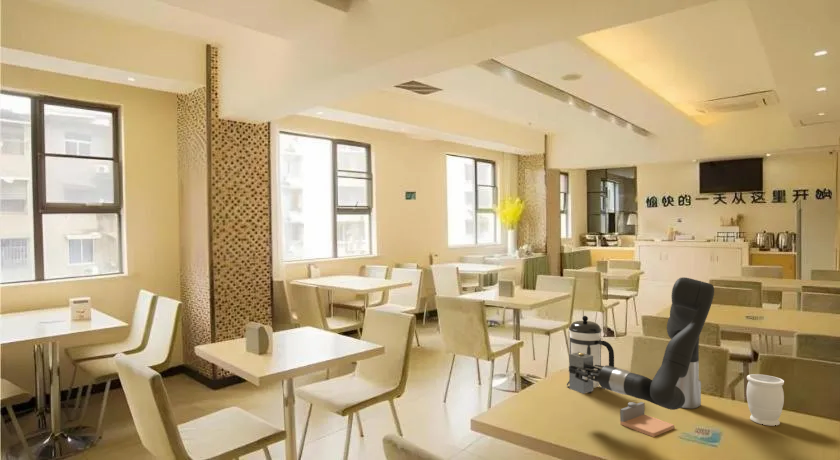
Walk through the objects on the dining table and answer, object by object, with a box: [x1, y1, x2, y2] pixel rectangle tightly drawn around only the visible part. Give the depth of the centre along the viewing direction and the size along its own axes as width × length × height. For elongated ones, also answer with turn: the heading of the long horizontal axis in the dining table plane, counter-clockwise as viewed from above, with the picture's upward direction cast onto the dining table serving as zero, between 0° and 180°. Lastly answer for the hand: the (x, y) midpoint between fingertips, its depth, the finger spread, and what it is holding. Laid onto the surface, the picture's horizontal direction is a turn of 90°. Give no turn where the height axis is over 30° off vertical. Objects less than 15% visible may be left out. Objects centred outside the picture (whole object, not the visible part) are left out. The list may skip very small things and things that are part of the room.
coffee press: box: [566, 315, 615, 394], centre depth 206 cm, size 17×16×30 cm
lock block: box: [568, 352, 594, 394], centre depth 171 cm, size 5×6×13 cm
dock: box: [619, 401, 675, 438], centre depth 168 cm, size 12×13×6 cm
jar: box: [746, 373, 785, 427], centre depth 172 cm, size 11×10×15 cm
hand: (575, 367), depth 173 cm, fingers closed on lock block, 5 cm apart
